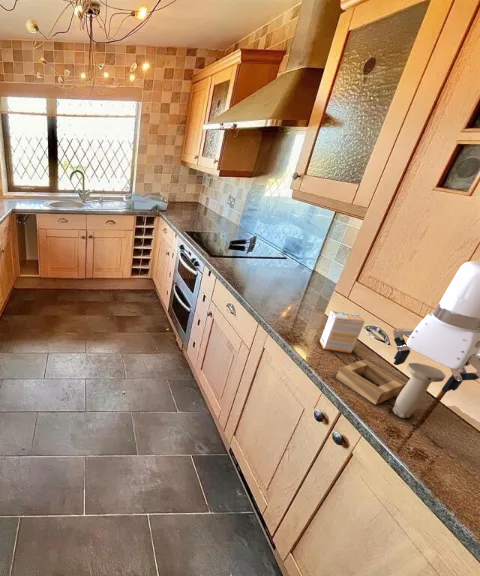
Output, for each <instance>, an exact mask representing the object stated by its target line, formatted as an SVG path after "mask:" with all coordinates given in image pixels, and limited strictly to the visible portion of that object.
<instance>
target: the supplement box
mask: <svg viewBox="0 0 480 576" xmlns="http://www.w3.org/2000/svg"><path fill="white" fill-rule="evenodd" d="M365 323H366V319H364V318H363V316H362V315H360V314H359V313H354V312H344V311H337V310H330V312H329V315H328V317H327V321H326V323H325V327H324V328H323V332H322V335H321V337H320V340H319V343H320V345H321V347H322V349H323V350H326V351H334V352H340V353H347V354H352V352H353V350H354V348H355V346H356V343H357V341H358V338H359V336H360V334H361V331H362V330H363V327H364V324H365Z"/></svg>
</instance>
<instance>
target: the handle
mask: <svg viewBox="0 0 480 576" xmlns="http://www.w3.org/2000/svg"><path fill="white" fill-rule="evenodd" d="M406 369H407V371H408V373H409V374H410V375H411V377H410V378H409V379H408V381H407V382H406V383H407V384H406V385H405V387H404V388H403V390H402V391H401V392H400V394H399V395H397V396H396V399H395V402H394V406H393V407H392V411H393V413H394V415H395V416H398V417H399V418H402V419H405V418H410V417H411V416H412V414H413V413H415V411H416V410H417V408H419V406H420V404H421V402H422V401H423V399H424V397H425V394H426V392H427V390H428V389H429V386H430V385H431V384H432V383H439V382H443V381H444V380H445V379H446V376H447V375H446V374H445V373H444V372H443V371H442V370H440V369H438V368H437V367H434V366H432V365H428V364H423V363H419V362H409V363H408V365H407V367H406Z"/></svg>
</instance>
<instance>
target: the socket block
mask: <svg viewBox="0 0 480 576" xmlns="http://www.w3.org/2000/svg"><path fill="white" fill-rule="evenodd" d="M362 376H364V377H365V378H364V377H362ZM366 378H367V379H369V380H370V381H369V380H367V379H366ZM335 379H336V380H338V381H339V382H341V383H342V384H344V385H345V386H347V387H348V388H350V389H351V390H353V391H354V392H356V393H357V394H358V395H360V396H362V397H363V398H365V399H367V401H369V402H371V403H372V404H374V405H378V404H380V403H383V402H385V401H388V400H390V399H392V398H394V397H398V396H399V394H400V392H401V391H402V390H403V388H404V387H405V385H406V384H407V383H408V382H406V381H404V380H402V379H400V378H399V377H397V376H395V375H393V374H392V373H390V372H388V371H386V370H385V369H384V368H381V367H379V366H377V365H376V364H374V363H372V362H370V361H369V360H367V359H361V360H358V361H355V362H353V363H350V364H347V365H344V366H342V367H339V368H338V371H337V373H336V376H335ZM372 382H374V383H375V384H374V383H372ZM376 384H377V385H378V386H377V385H376Z"/></svg>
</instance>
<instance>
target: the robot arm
mask: <svg viewBox="0 0 480 576" xmlns="http://www.w3.org/2000/svg"><path fill="white" fill-rule="evenodd" d="M404 336H409V337H408V338H407V341H406V340H405V338H404ZM393 337H394V338H393V341H394V343H395V345H396V346H397V347H396V350H397V352H396V354H395V355H394V357H393V359H394V362H393V365H395V366H400V365H402V364H405V362H406V360H407V358H408V357H409V355H410V353H411V350H412V351H413V352H415V353H418V354H419V355H422V356H423V357H425V358H428V359H430V360H432V361H434V362H436V363H438V364H440V365H442V366H444V367H446V368H449V369H450V371H451V374H452V375H453V376H451V377H450V376H449V378H448V379H447V381H446V383H445V384H444V385H443V387H442V388H441V391H442V392H444V393H447V392H449V391H453V392H454V391H456V390H458V388H459V387H460V385H462V383H463V382H464V381H475V380H479V379H480V359H479V358H478V357H477V355H478V353H479V351H480V260H470V261H466V262H464V263H462V264H461V265H460V267H459V269H457V272H456V274H455V275H454V277H453V278H452V280H451V282H450V284H449V286H448V287H447V289H446V290H445V292H444V294H443V296H442V297H441V299H440V301H439V303H438V305H436V307H435V308H434V311H431V312H429V313H428V314H427V315H425V317H423V319H422V320H421V321H420V322H419V323H418V325H417V326H416V327H415V328H414V329H409V328H395V329H393ZM470 365H471V366H472V367H473V368H474V369H475V370H476V371H475V372H468V371H467V367H469V366H470Z"/></svg>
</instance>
